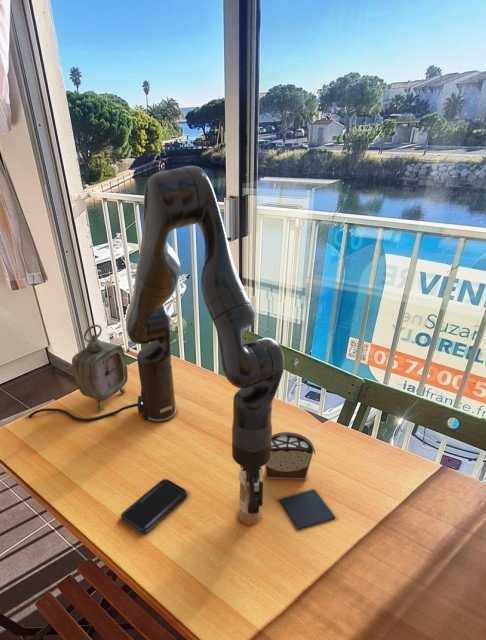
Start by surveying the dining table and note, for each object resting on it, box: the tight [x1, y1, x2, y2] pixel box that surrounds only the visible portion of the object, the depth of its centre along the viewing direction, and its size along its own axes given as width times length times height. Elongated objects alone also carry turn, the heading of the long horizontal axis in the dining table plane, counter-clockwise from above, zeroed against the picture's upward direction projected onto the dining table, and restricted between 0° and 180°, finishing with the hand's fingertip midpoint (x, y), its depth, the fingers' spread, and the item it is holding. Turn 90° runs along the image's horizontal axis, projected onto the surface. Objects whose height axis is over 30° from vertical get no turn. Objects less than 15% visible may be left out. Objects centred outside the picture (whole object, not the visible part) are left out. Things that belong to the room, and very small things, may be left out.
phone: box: [120, 478, 188, 535], centre depth 103 cm, size 8×1×15 cm
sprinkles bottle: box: [238, 468, 263, 525], centre depth 96 cm, size 5×5×14 cm
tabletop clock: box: [71, 324, 128, 412], centre depth 134 cm, size 14×9×25 cm, turn 147°
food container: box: [264, 431, 316, 480], centre depth 108 cm, size 12×6×10 cm, turn 84°
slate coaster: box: [278, 488, 336, 530], centre depth 101 cm, size 9×9×1 cm
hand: (250, 497), depth 96 cm, fingers open, 8 cm apart
